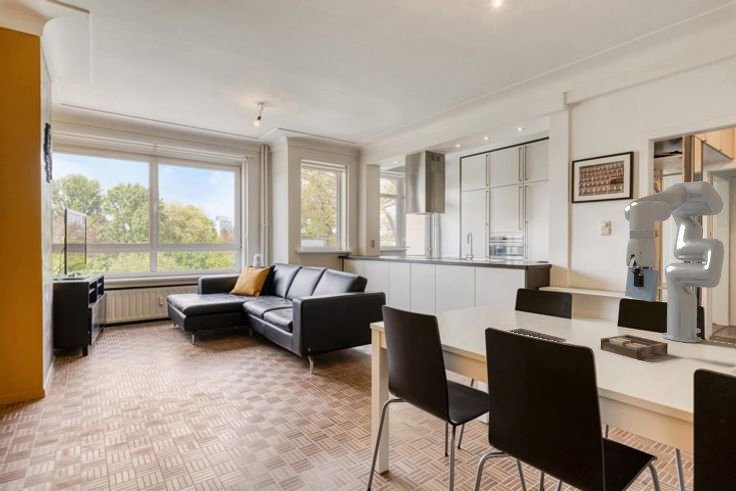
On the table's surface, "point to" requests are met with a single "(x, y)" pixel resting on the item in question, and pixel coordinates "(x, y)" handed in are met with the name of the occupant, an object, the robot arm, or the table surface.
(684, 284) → the robot arm
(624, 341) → the offcut
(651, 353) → the rack
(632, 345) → the offcut
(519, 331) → the picture frame
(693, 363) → the table surface
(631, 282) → the panel
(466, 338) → the table surface
